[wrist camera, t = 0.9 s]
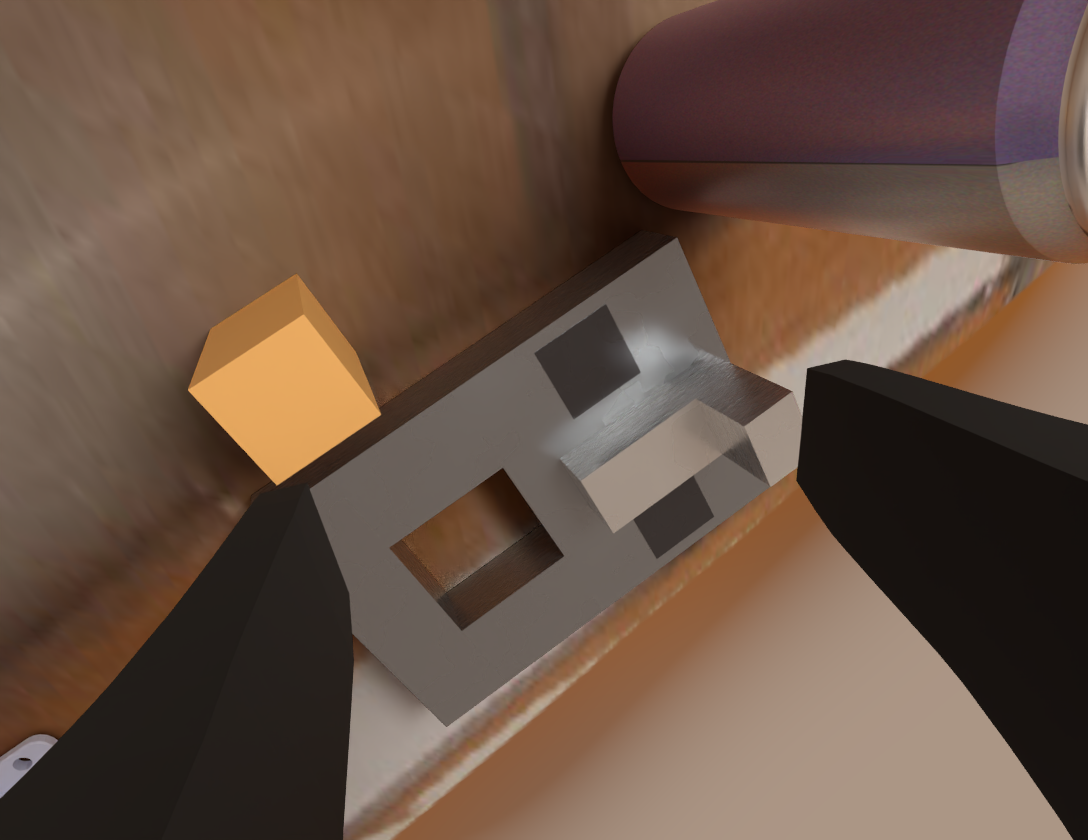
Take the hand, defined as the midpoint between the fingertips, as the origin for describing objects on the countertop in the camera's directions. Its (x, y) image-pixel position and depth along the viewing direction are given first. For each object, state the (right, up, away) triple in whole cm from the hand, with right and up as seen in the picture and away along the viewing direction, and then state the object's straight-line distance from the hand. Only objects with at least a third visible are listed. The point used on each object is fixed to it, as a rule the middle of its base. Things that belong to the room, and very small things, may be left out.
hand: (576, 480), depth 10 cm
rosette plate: (-1, -1, +16) cm, 16 cm away
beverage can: (+4, +11, +13) cm, 18 cm away
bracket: (+3, 0, +14) cm, 15 cm away
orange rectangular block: (-8, +3, +11) cm, 15 cm away
